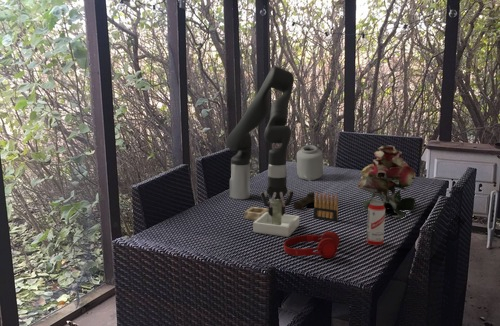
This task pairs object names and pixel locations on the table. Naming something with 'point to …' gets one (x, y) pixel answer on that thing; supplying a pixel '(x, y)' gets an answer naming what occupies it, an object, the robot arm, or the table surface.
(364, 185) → the rose bouquet
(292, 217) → the tray
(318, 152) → the jar
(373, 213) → the beer can
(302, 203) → the hand tool
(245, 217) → the holder
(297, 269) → the table surface
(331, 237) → the headphones
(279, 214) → the dowel
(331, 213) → the ammunition clip
